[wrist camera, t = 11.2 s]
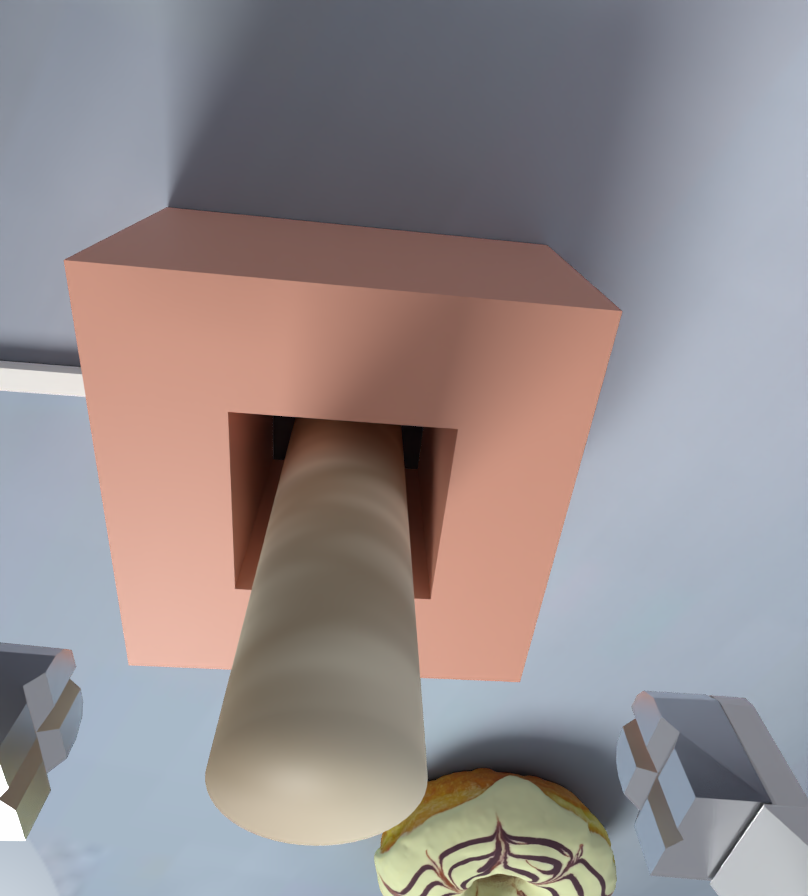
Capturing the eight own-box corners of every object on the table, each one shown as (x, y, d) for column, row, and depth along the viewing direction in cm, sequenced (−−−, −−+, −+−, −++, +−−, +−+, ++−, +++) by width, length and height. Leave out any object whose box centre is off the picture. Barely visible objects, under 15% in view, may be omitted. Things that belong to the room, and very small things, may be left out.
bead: (546, 245, 17) (622, 311, 12) (486, 540, 22) (519, 682, 16) (166, 207, 16) (63, 260, 11) (191, 523, 21) (128, 665, 16)
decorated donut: (502, 718, 27) (520, 805, 23) (639, 818, 31) (671, 905, 27) (334, 822, 30) (328, 911, 27) (478, 901, 34) (488, 987, 31)
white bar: (180, 374, 18) (175, 381, 18) (181, 396, 19) (177, 403, 18) (-35, 357, 18) (-46, 364, 17) (-29, 380, 18) (-39, 387, 18)
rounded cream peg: (404, 362, 18) (440, 714, 8) (394, 450, 20) (415, 846, 9) (301, 354, 18) (198, 706, 8) (299, 444, 20) (210, 844, 9)
